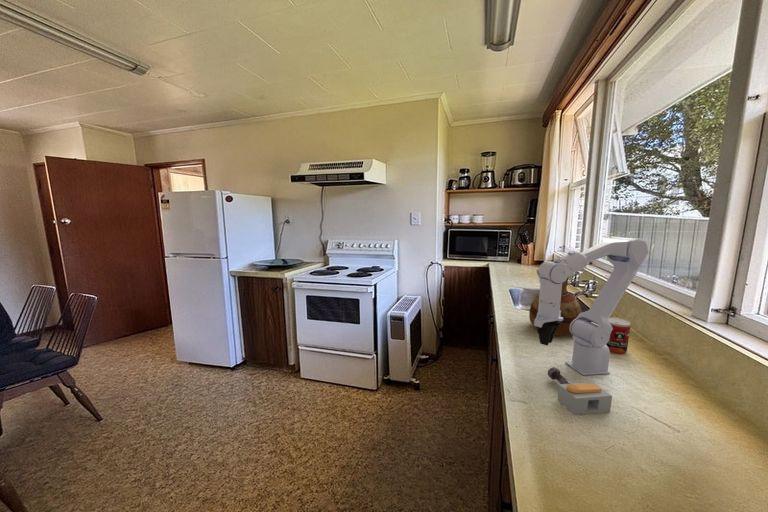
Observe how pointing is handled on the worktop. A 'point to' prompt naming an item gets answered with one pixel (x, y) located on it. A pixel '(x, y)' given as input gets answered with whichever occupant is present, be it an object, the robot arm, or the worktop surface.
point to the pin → (557, 376)
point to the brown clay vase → (567, 308)
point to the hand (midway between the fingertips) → (545, 343)
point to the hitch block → (584, 400)
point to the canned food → (618, 335)
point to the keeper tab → (583, 388)
